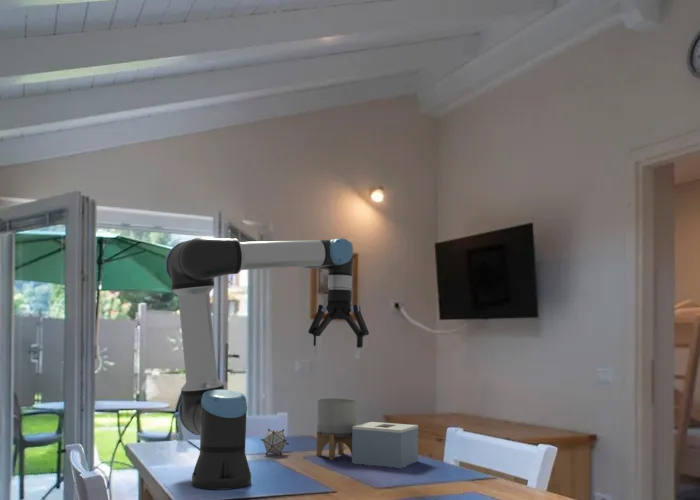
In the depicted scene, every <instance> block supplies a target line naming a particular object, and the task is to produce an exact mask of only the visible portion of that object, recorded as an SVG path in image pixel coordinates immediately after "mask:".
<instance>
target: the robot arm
mask: <svg viewBox="0 0 700 500" xmlns="http://www.w3.org/2000/svg"><path fill="white" fill-rule="evenodd" d="M353 246H354V245H353V243H352V242H351V241H349V240H348V239H346V238H344V237H343V238H337V237H336V238H334V239H321V240H320V239H308V240H306V239H305V240H275V241H274V240H273V241H272V240H271V241H270V240H269V241H245V242H244V241H243V242H241V241H239V240H238V239H237V238H220V237H219V238H214V237H202V236H201V237H196V238H193V239H190V240H185V241H181V242H179V243H177V244H176V245H174V246H173V247H172V248H171V249H170V250H169V251H168V253H166V257H165V260H164V269H165V271H166V274H167V276H168V277H169V279H170V281H171V283H170V284H171V291H172V292H173V293H174V294H175V295H177V297H178V298H177V299H178V305H179V306H178V307H179V316H180V329H181V337H182V338H181V340H182V352H183V361H184V362H183V363H184V373H185V374H184V375H185V384H184V385H182V387H181V389H180V392H181V393H180V394H181V400H180V402H179V405H178V409H177V414H178V419H179V421H180V423H181V426H182V427H184V429H186V431H188V432H189V433H190V434H194V435H196V436H200V439H199V455H198V457H197V460H196V463H195V466H194V469H193V473H192V475H191V486H193V487H195V488H199V489H206V490H232V489H239V488H244V487H248V486H249V485H251V483H252V473H251V470H250V466H249V462H248V459H247V455H246V438H247V437H246V436H247V412H248V404H247V397H246V395H244V393H242V392H240V391H236V390H230V389H224V388H225V385H224V382H223V381H221V380H220V379H219V378H218V373H217V372H218V371H217V362H216V361H217V360H216V349H215V339H214V329H213V327H214V326H213V317H212V308H211V307H212V305H211V295H210V293H211V292H212V291H213V289H214V288H215V280H214V279H215V278H218V277H221V276H226V275H227V276H228V275H239V273H240V272H241V271H247V270H249V271H251V270H266V269H267V270H268V269H283V268H305V269H317V270H318V269H319V270H327V272H328V273H327V275H328V276H327V277H328V279H327V281H328V282H327V288H328V291H327V305H325V304H319V305H318V308H317V312H316V315H315V316H314V318H313V321H312V322H311V324H310V326H309V329H308V334H311V335H312V336H313V347H315V353H314V355H315V356H314V357H315V358H322V354H323V353H322V352H323V351H322V350H323V336H322V335H321V334H322V333H323V332H324V331H325V329H326V328H327V326H329V324H330V323H331V322H332V321H333V320H344V321H345V322H347V324H348V325H349V327H350V329H351V330H352V331H353V333H354V334H355V335H356V336H354V337H353V341H354V342H353V359H357V360H358V359H360V358H361V348H363V344H364V337H366V336H369V334H370V331H369V330H368V326H367V325H366V322H365V320H364V318H363V314H362V312H361V311H362V310H361V305H359V304H354V305H352V304H351V303H352V291H351V289H352V288H353V287H352V284H353V265H354V263H353V262H354V261H353V259H354V247H353ZM326 312H327V313H326ZM351 312H352V313H353V314H354V317H355V319H356V321H355V320H354V318H353V317H352V315H351ZM325 313H326V315H325ZM324 315H325V316H324ZM323 317H324V318H323ZM322 319H323V320H322ZM356 322H357V323H356ZM357 324H358V325H357Z"/></svg>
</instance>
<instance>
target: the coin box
mask: <svg viewBox="0 0 700 500" xmlns="http://www.w3.org/2000/svg"><path fill="white" fill-rule="evenodd" d="M418 461H419V425H418V424H405V423H393V422H392V423H391V422H390V423H389V422H379V421H377V422H376V421H370V422H369V421H368V422H365V423H361V424H357V425H356V426H353V429H352V455H351V464H352V463H353V464H355V465H362V464H364V465H365V466H372V465H377V466H376V467H382V466H388V467H387V468H392V467H397V468H396V469H403V468H405V467H404V466H406V467H407V465H408V466H410V465H412V464H411V463H413V464H414V462H415V463H418ZM409 464H410V465H409ZM402 467H403V468H402Z"/></svg>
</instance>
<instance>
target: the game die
mask: <svg viewBox="0 0 700 500" xmlns="http://www.w3.org/2000/svg"><path fill="white" fill-rule="evenodd" d="M267 431H268V432H267V434H266V435H265V436H264V437H263V438H261V439H260V441H262V443H263V445H264V448H265V451H266V452H265V455H266V456H267V455H268V454H280V456H282V455H283V453H282V452H283V450H284V449H285V447H286V446H287V445H289V443H288V442H287V439H286V437H285V434H284V431H285V429H284V428H283V429H282V430H271V429H270V428H268V429H267Z"/></svg>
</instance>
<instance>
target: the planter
mask: <svg viewBox="0 0 700 500" xmlns="http://www.w3.org/2000/svg"><path fill="white" fill-rule="evenodd" d="M316 402H317V404H316V405H317V406H316V408H317V409H316V456H317V457H321V456H322V455H323V454H322V453H323V449H324V448H325V446H326V445H327V444H328V460H329V461H330V460H331V461H334V460H335V457H336V448H337V452H338V455H343V454H344V453H345V451H344V450H345V449H344V448H345V447H344V446H347V448H348V449H349V452H350V454H351V456H352V429H353V426H356V425H358V400H357V399H354V398H353V399H352V398H341V397H339V398H336V397H335V398H331V397H330V398H319V399H317V401H316Z"/></svg>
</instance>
